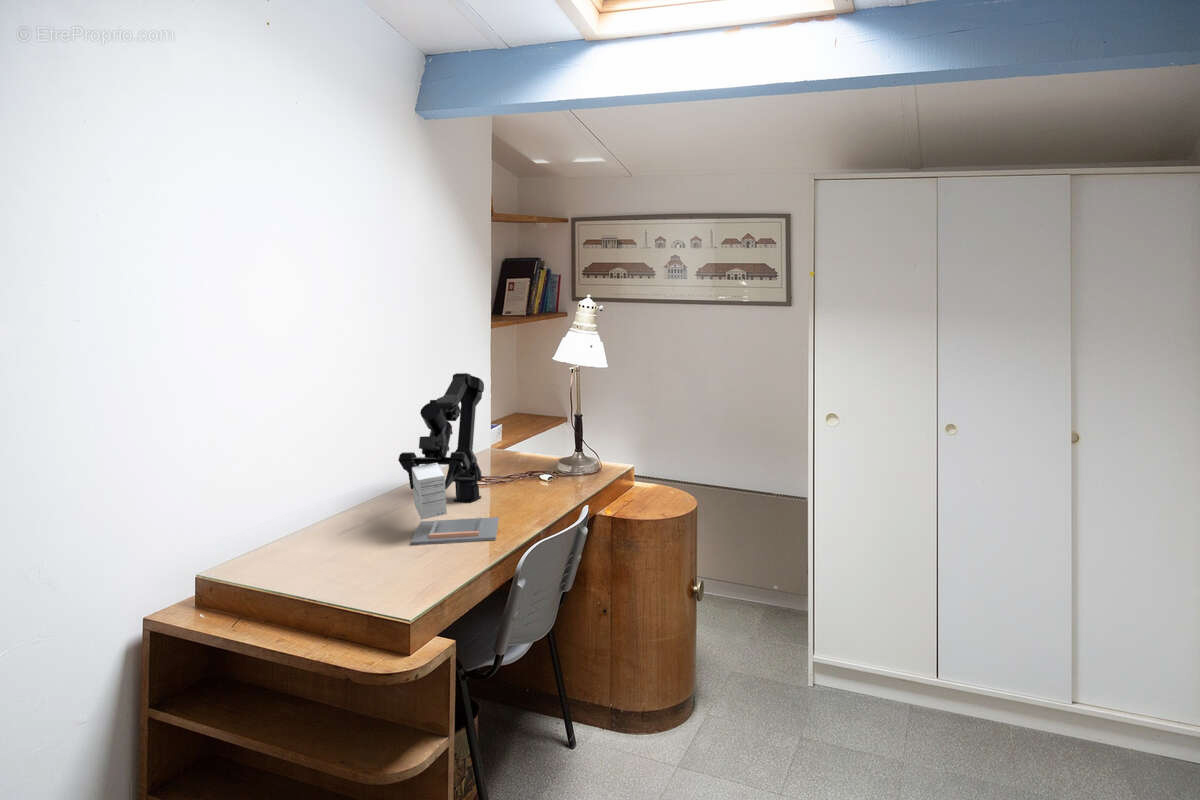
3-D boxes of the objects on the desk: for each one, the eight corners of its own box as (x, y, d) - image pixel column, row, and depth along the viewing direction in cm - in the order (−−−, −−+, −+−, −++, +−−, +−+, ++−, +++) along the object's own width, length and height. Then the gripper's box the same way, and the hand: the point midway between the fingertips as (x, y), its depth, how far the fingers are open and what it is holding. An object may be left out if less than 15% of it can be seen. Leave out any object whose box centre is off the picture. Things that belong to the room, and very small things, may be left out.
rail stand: (420, 524, 224) (420, 518, 224) (498, 519, 226) (498, 513, 226) (410, 545, 207) (410, 538, 206) (495, 540, 208) (495, 533, 208)
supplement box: (414, 506, 218) (410, 466, 213) (440, 500, 221) (438, 461, 215) (420, 520, 212) (417, 480, 207) (447, 514, 215) (445, 474, 209)
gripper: (398, 424, 217) (385, 473, 208) (463, 423, 215) (453, 473, 206) (410, 445, 226) (399, 493, 217) (474, 445, 224) (464, 494, 215)
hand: (428, 488), depth 214 cm, fingers closed on supplement box, 9 cm apart
